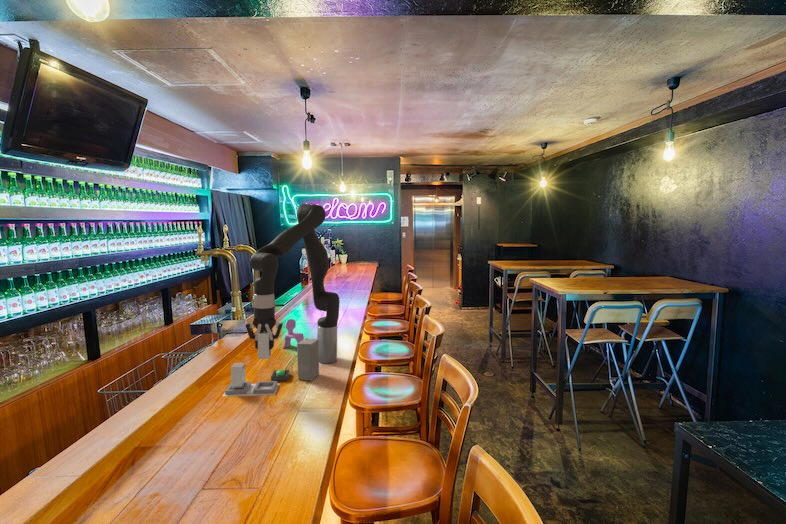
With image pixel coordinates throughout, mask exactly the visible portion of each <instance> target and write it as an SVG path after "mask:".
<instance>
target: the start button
mask: <svg viewBox="0 0 786 524" xmlns="http://www.w3.org/2000/svg"><path fill="white" fill-rule="evenodd" d="M276 370H277V369H276ZM285 370H286V369H282V368H281V369H278V370H277V371H276V376H278V375H285Z"/></svg>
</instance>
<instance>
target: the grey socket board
mask: <svg viewBox="0 0 786 524" xmlns="http://www.w3.org/2000/svg"><path fill="white" fill-rule="evenodd" d="M279 386H280V382H278V381H271V380H269V381H268V380H264V381H263V380H262V381H261V380H260V381H259V380H258V381H257V382H256V383H252V382H251V381H245V388H244V389H231V382H230V383H229V384H228V386H227V388H226V389H225V390H224V391H225V392H224V393H223V394H222V395H221V397H255V396H256V397H257V396H276V393H277V391H278V388H279Z"/></svg>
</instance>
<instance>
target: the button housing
mask: <svg viewBox="0 0 786 524" xmlns="http://www.w3.org/2000/svg"><path fill="white" fill-rule="evenodd" d="M284 370H285V375H278V376H276V371H277V369H274V370H273V372H272V374H271V376H270V381H277V382H288V381H289V377H290V375H291V374H290V373H291V372H290V369H284Z"/></svg>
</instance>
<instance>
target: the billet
mask: <svg viewBox="0 0 786 524" xmlns="http://www.w3.org/2000/svg"><path fill="white" fill-rule="evenodd" d="M269 340H270V338H269V333H267V332H260V333H258V350H257V360H269V359H270V358H271V356H272V349H271V350H270V349H269Z"/></svg>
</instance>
